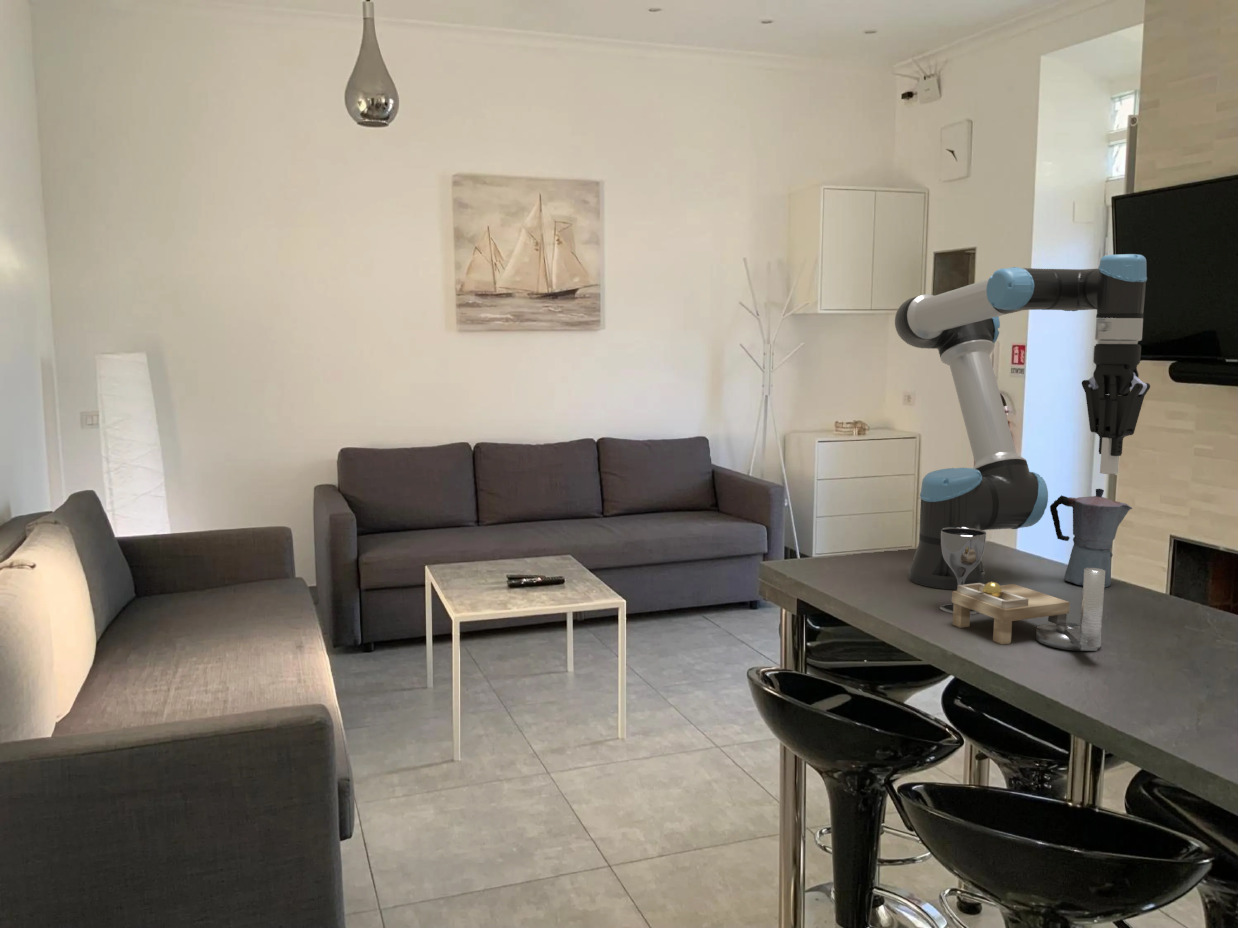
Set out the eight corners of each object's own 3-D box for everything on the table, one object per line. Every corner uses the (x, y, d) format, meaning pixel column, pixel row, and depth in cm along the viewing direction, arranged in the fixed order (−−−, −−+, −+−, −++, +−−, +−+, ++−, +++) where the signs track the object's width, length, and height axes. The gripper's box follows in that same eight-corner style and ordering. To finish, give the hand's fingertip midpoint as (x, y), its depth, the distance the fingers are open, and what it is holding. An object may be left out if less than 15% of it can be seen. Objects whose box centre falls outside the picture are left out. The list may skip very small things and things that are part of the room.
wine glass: (944, 601, 192) (948, 525, 190) (987, 607, 187) (991, 530, 185) (931, 610, 185) (935, 532, 183) (975, 617, 181) (979, 537, 179)
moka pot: (1132, 590, 200) (1139, 493, 197) (1051, 586, 203) (1057, 490, 200) (1119, 579, 209) (1125, 486, 206) (1041, 575, 212) (1047, 483, 209)
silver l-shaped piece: (1028, 631, 172) (1033, 548, 170) (1089, 633, 171) (1094, 550, 169) (1058, 662, 156) (1064, 571, 154) (1125, 665, 154) (1132, 573, 152)
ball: (978, 597, 172) (979, 580, 172) (992, 595, 173) (993, 579, 173) (991, 601, 169) (992, 584, 169) (1004, 600, 170) (1005, 583, 170)
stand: (950, 623, 177) (952, 584, 176) (1011, 615, 182) (1014, 577, 181) (1003, 645, 165) (1006, 602, 164) (1067, 635, 170) (1070, 594, 169)
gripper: (1072, 342, 181) (1064, 469, 185) (1133, 343, 169) (1123, 479, 173) (1103, 342, 184) (1095, 467, 187) (1165, 343, 172) (1154, 477, 175)
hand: (1108, 473), depth 180 cm, fingers closed
